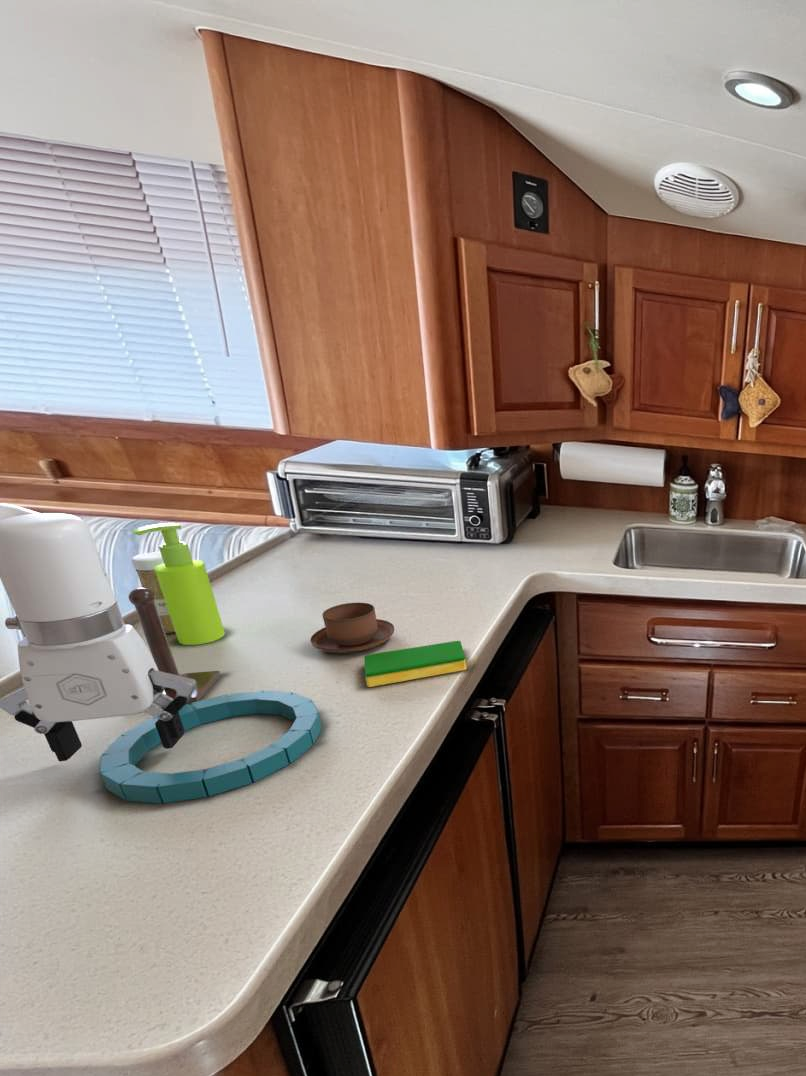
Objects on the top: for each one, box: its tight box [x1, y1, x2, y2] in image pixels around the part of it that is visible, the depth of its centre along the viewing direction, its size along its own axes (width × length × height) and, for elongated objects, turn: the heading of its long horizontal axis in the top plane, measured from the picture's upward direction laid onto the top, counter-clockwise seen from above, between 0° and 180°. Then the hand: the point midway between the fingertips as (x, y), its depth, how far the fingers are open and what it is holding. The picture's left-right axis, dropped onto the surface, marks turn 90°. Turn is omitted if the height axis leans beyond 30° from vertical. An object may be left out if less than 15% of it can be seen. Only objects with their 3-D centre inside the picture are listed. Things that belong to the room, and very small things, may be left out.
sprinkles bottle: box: [131, 551, 176, 634], centre depth 107 cm, size 5×5×14 cm
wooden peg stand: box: [128, 587, 221, 707], centre depth 90 cm, size 8×8×16 cm
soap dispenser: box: [131, 522, 226, 646], centre depth 104 cm, size 6×7×20 cm
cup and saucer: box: [310, 602, 395, 654], centre depth 109 cm, size 12×12×6 cm
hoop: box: [99, 689, 323, 804], centre depth 82 cm, size 21×21×2 cm
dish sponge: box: [364, 640, 467, 688], centre depth 104 cm, size 7×14×2 cm, turn 122°
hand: (123, 748), depth 78 cm, fingers open, 9 cm apart
